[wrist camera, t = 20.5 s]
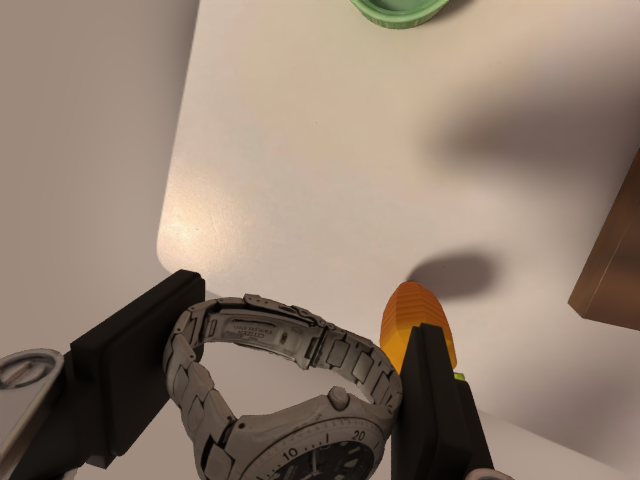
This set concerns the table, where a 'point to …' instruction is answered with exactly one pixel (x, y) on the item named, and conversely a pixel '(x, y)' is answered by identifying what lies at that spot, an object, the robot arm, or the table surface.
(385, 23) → the ramekin
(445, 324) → the carrot
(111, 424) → the robot arm
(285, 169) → the table surface
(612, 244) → the cutting board
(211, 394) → the wristwatch
